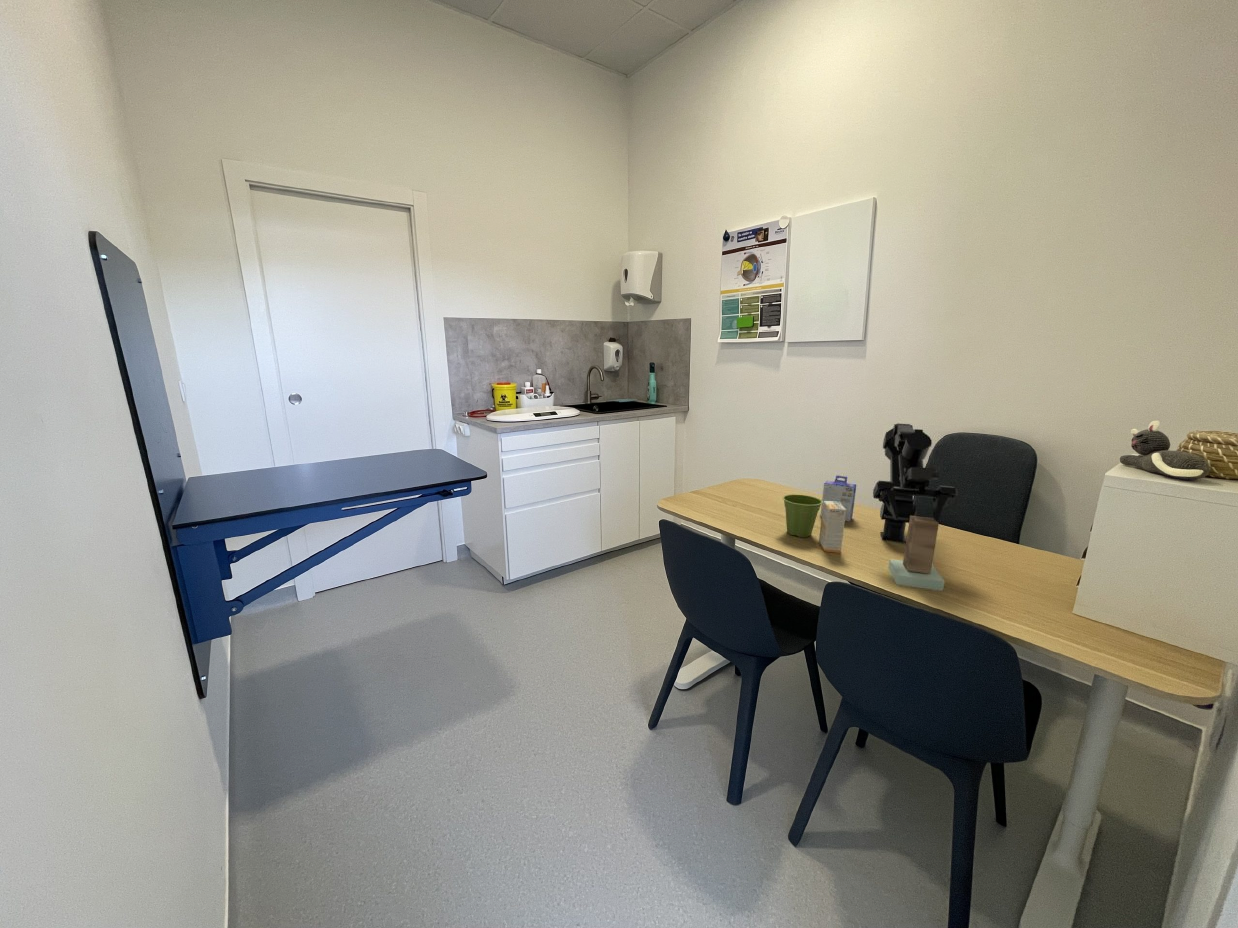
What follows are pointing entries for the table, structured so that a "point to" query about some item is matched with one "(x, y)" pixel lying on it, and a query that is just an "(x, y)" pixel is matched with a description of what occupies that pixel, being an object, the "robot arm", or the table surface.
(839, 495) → the ink cartridge box
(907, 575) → the sage green base block
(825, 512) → the supplement box
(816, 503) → the plant pot
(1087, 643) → the table surface
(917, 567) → the walnut block
